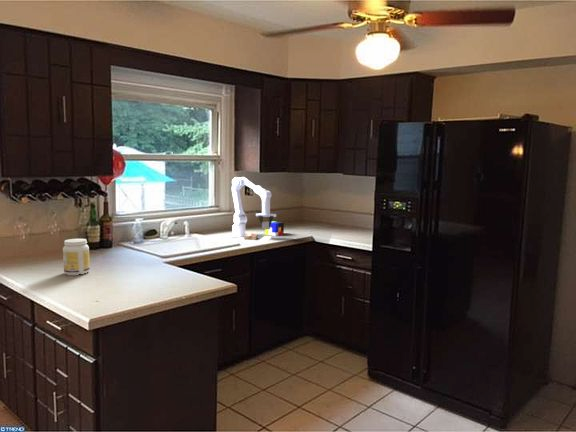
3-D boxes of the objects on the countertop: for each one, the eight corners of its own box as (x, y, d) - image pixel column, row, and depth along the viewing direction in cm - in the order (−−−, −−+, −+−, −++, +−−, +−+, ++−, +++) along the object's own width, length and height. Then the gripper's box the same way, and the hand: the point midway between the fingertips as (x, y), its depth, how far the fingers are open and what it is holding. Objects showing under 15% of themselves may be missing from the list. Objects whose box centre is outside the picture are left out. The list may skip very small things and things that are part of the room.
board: (257, 241, 329) (257, 240, 329) (263, 237, 349) (263, 236, 349) (268, 242, 328) (268, 241, 328) (273, 237, 348) (273, 236, 348)
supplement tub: (83, 268, 247) (81, 237, 245) (94, 272, 239) (93, 240, 237) (59, 273, 238) (57, 240, 236) (70, 277, 230) (68, 243, 228)
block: (262, 229, 336) (261, 222, 335) (263, 228, 341) (263, 221, 340) (268, 229, 335) (268, 222, 335) (270, 228, 340) (270, 221, 339)
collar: (244, 240, 335) (244, 235, 335) (246, 238, 343) (246, 234, 343) (255, 240, 334) (255, 236, 334) (257, 238, 342) (257, 234, 341)
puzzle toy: (275, 237, 350) (275, 223, 349) (265, 235, 356) (265, 222, 355) (283, 235, 358) (283, 222, 357) (273, 233, 364) (273, 221, 363)
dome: (246, 239, 336) (246, 233, 336) (248, 238, 341) (248, 232, 341) (253, 239, 336) (253, 233, 335) (255, 238, 341) (255, 232, 340)
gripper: (254, 208, 333) (254, 227, 335) (275, 208, 331) (275, 227, 333) (256, 207, 340) (256, 225, 341) (276, 207, 338) (276, 226, 340)
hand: (266, 226), depth 338 cm, fingers closed on block, 5 cm apart
